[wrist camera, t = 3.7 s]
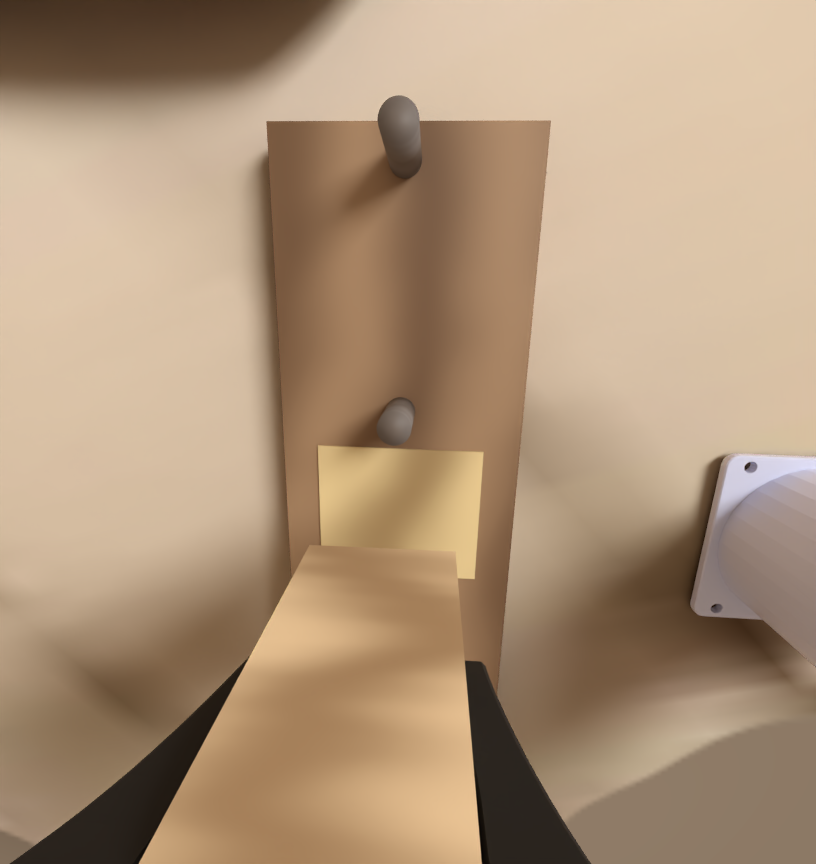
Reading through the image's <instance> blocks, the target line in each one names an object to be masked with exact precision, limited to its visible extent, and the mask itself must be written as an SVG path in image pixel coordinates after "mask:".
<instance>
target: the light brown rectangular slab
mask: <svg viewBox="0 0 816 864" xmlns="http://www.w3.org/2000/svg"><path fill="white" fill-rule="evenodd" d="M139 864H482V860H481V848H480V836H479V824H478V813H477V801H476V789H475V777H474V765H473V753H472V741H471V730H470V718H469V706H468V694H467V682H466V670H465V659H464V647H463V635H462V623H461V611H460V599H459V587H458V576H457V564H456V552H455V551H434V550H412V549H389V548H367V547H345V546H323V545H309V547H308V549H307V551H306V553H305V555H304V556H303V558H302V560H301V562H300V564H299V566H298V568H297V569H296V571H295V573H294V575H293V577H292V579H291V581H290V583H289V584H288V586H287V588H286V590H285V592H284V594H283V596H282V597H281V599H280V601H279V603H278V605H277V607H276V609H275V610H274V612H273V614H272V616H271V618H270V620H269V622H268V624H267V625H266V627H265V629H264V631H263V633H262V635H261V637H260V638H259V640H258V642H257V644H256V646H255V648H254V650H253V652H252V653H251V655H250V657H249V659H248V661H247V663H246V665H245V666H244V668H243V670H242V672H241V674H240V676H239V678H238V679H237V681H236V683H235V685H234V687H233V689H232V691H231V693H230V694H229V696H228V698H227V700H226V702H225V704H224V706H223V707H222V709H221V711H220V713H219V715H218V717H217V719H216V721H215V722H214V724H213V726H212V728H211V730H210V732H209V734H208V735H207V737H206V739H205V741H204V743H203V745H202V747H201V748H200V750H199V752H198V754H197V756H196V758H195V760H194V762H193V763H192V765H191V767H190V769H189V771H188V773H187V775H186V776H185V778H184V780H183V782H182V784H181V786H180V788H179V790H178V791H177V793H176V795H175V797H174V799H173V801H172V803H171V804H170V806H169V808H168V810H167V812H166V814H165V816H164V818H163V819H162V821H161V823H160V825H159V827H158V829H157V831H156V832H155V834H154V836H153V838H152V840H151V842H150V844H149V845H148V847H147V849H146V851H145V853H144V855H143V857H142V859H141V860H140V862H139Z"/></svg>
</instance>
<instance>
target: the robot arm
mask: <svg viewBox="0 0 816 864" xmlns="http://www.w3.org/2000/svg"><path fill="white" fill-rule="evenodd" d="M748 462H751V465H750V467H749V468H748V469H746V470H744V467H745V465H746V464H747V463H748ZM714 604H716V606H715V607H712V606H713V605H714ZM690 606H691V608H692V609H693V610H694V612H695V613H696V614H698V615H700V616H708V617H725V618H742V619H759V620H764V621H765V622H766V623H767V624H768V625H769V626H770V627H771V628H773V629H774V630H775V631H776V632H777V633H778V634H779V635H780V636H781V637H783V638H784V639H785V640H786V641H787V642H788V643H789V644H790V645H791V646H793V647H794V648H795V649H796V650H797V651H798V652H799V653H800V654H801V655H803V656H804V657H805V658H806V659H807V660H808V661H809V662H810V663H812V664H813V665H814V666H815V667H816V457H815V456H789V455H764V454H738V453H735V454H730V455H728V456H726V457H725V458H724V459H723V461H722V463H721V467H720V472H719V476H718V481H717V485H716V490H715V494H714V498H713V503H712V507H711V512H710V516H709V521H708V525H707V530H706V534H705V539H704V543H703V548H702V552H701V557H700V561H699V566H698V570H697V575H696V579H695V584H694V588H693V593H692V597H691V602H690ZM711 607H712V608H711ZM249 657H250V656H249ZM249 657H248V659H249ZM248 659H247V660H246V661H245V662H244V663H243V664H242V665H241V666H240V667H239V668H238V669H237V670H236V671H235V672H234V673H233V674H232V675H231V676H230V677H229V678H228V679H227V680H226V681H225V682H224V683H223V684H222V685H221V686H220V687H219V688H218V689H217V690H216V691H215V692H214V693H213V694H212V695H211V696H210V697H209V698H208V699H207V700H206V701H205V702H204V703H203V704H202V705H201V706H200V707H199V708H198V709H197V710H196V711H195V712H194V713H193V714H192V715H191V716H190V717H189V718H188V719H186V720H185V721H184V722H183V723H182V724H181V725H180V726H179V727H178V728H177V729H176V730H175V731H174V732H173V733H172V734H171V735H169V736H168V737H167V738H166V739H165V740H164V741H163V742H162V743H161V744H160V745H158V746H157V747H156V748H155V749H154V750H153V751H152V752H151V753H150V754H148V755H147V756H146V757H145V758H144V759H143V760H142V761H141V762H140V763H138V764H137V765H136V766H135V767H134V768H133V769H132V770H130V771H129V772H128V773H127V774H126V775H125V776H123V777H122V778H121V779H120V780H119V781H117V782H116V783H115V784H114V785H113V786H111V787H110V788H109V789H108V790H107V791H105V792H104V793H103V794H102V795H100V796H99V797H98V798H97V799H95V800H94V801H93V802H92V803H91V804H89V805H88V806H87V807H86V808H84V809H83V810H82V811H80V812H79V813H78V814H77V815H75V816H74V817H73V818H71V819H70V820H69V821H67V822H66V823H65V824H63V825H62V826H61V827H60V828H58V829H57V830H55V831H54V832H53V833H51V834H50V835H49V836H47V837H46V838H45V839H43V840H42V841H40V842H39V843H38V844H36V845H35V846H34V847H32V848H31V849H30V850H28V851H27V852H25V853H24V854H23V855H21V856H20V857H19V858H17V859H16V860H14V861H13V862H12V863H10V864H139V862H140V860H141V859H142V857H143V855H144V853H145V851H146V849H147V847H148V845H149V844H150V842H151V840H152V838H153V836H154V834H155V832H156V831H157V829H158V827H159V825H160V823H161V821H162V819H163V818H164V816H165V814H166V812H167V810H168V808H169V806H170V804H171V803H172V801H173V799H174V797H175V795H176V793H177V791H178V790H179V788H180V786H181V784H182V782H183V780H184V778H185V776H186V775H187V773H188V771H189V769H190V767H191V765H192V763H193V762H194V760H195V758H196V756H197V754H198V752H199V750H200V748H201V747H202V745H203V743H204V741H205V739H206V737H207V735H208V734H209V732H210V730H211V728H212V726H213V724H214V722H215V721H216V719H217V717H218V715H219V713H220V711H221V709H222V707H223V706H224V704H225V702H226V700H227V698H228V696H229V694H230V693H231V691H232V689H233V687H234V685H235V683H236V681H237V679H238V678H239V676H240V674H241V672H242V670H243V668H244V666H245V665H246V663H247V661H248ZM465 670H466V682H467V694H468V706H469V718H470V730H471V741H472V753H473V765H474V777H475V789H476V801H477V813H478V824H479V836H480V848H481V860H482V864H591V863H590V862H589V860H588V859H587V857H586V856H585V854H584V852H583V851H582V850H581V848H580V846H579V845H578V843H577V842H576V840H575V839H574V837H573V836H572V834H571V832H570V831H569V829H568V828H567V826H566V824H565V823H564V821H563V820H562V818H561V816H560V815H559V813H558V811H557V810H556V808H555V806H554V805H553V803H552V802H551V800H550V798H549V796H548V795H547V793H546V791H545V789H544V788H543V786H542V784H541V782H540V781H539V779H538V777H537V776H536V774H535V772H534V770H533V768H532V766H531V765H530V763H529V761H528V759H527V757H526V755H525V753H524V751H523V749H522V747H521V745H520V744H519V742H518V740H517V738H516V736H515V734H514V732H513V730H512V728H511V726H510V724H509V722H508V720H507V717H506V715H505V713H504V711H503V709H502V706H501V704H500V702H499V700H498V697H497V695H496V693H495V690H494V688H493V685H492V683H491V680H490V677H489V675H488V672H487V669H486V666H485V665H484V664H483V663H482V662H481V661H466V660H465Z"/></svg>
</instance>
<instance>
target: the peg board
mask: <svg viewBox="0 0 816 864" xmlns="http://www.w3.org/2000/svg"><path fill="white" fill-rule="evenodd" d="M550 124H551V121H419V113H418V110H417V107H416V106H415V104H414V103H413V102H412V101H411V100H410V99H409V98H407V97H404V96H393V97H391V98H389V99H387V100H386V101H385V102H384V103H383V105H382V106H381V108H380V110H379V114H378V121H267V138H268V157H269V175H270V194H271V212H272V231H273V249H274V268H275V286H276V305H277V323H278V342H279V360H280V379H281V397H282V416H283V434H284V453H285V471H286V490H287V508H288V527H289V546H290V564H291V579H292V577H293V575H294V573H295V571H296V569H297V568H298V566H299V564H300V562H301V560H302V558H303V556H304V555H305V553H306V551H307V549H308V547H309V545H323V546H345V547H367V548H389V549H412V550H434V551H455V552H456V564H457V576H458V587H459V599H460V611H461V623H462V635H463V647H464V659H465V660H466V661H481V662H482V663H483V664H484V665H485V666H486V669H487V672H488V675H489V677H490V680H491V683H492V685H493V688H494V690H495V693H496V695H497V688H498V677H499V666H500V656H501V645H502V634H503V624H504V613H505V603H506V592H507V581H508V571H509V560H510V549H511V539H512V528H513V518H514V507H515V496H516V486H517V475H518V464H519V454H520V443H521V433H522V422H523V411H524V401H525V390H526V379H527V369H528V358H529V348H530V337H531V326H532V316H533V305H534V294H535V284H536V273H537V262H538V252H539V241H540V231H541V220H542V209H543V199H544V188H545V177H546V167H547V156H548V146H549V135H550Z"/></svg>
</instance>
